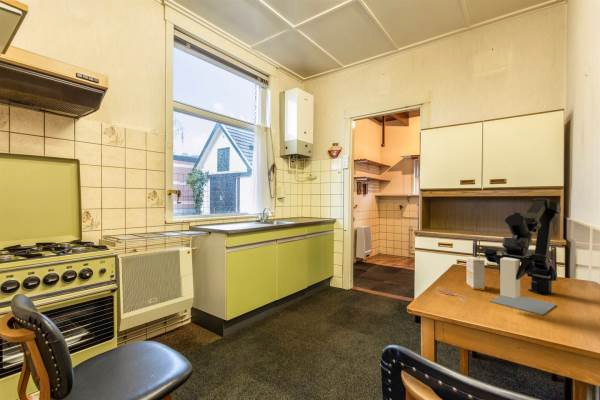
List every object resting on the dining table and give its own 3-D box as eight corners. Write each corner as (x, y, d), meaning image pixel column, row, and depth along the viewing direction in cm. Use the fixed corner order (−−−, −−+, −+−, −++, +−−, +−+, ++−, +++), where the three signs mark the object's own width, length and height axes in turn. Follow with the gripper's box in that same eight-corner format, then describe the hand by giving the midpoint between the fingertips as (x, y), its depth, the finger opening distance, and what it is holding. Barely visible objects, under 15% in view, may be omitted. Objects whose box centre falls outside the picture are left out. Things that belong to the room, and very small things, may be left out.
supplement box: (485, 290, 124) (485, 260, 124) (473, 289, 125) (473, 259, 125) (477, 284, 132) (477, 256, 132) (466, 284, 133) (466, 256, 133)
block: (505, 292, 104) (505, 257, 104) (520, 295, 101) (519, 259, 101) (500, 294, 102) (500, 258, 102) (515, 298, 98) (515, 260, 98)
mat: (506, 293, 119) (506, 292, 119) (556, 305, 106) (556, 304, 106) (490, 301, 110) (490, 300, 110) (542, 315, 97) (542, 314, 97)
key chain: (432, 294, 120) (432, 292, 120) (441, 290, 124) (441, 289, 124) (464, 303, 110) (464, 300, 110) (473, 299, 114) (473, 296, 114)
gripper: (485, 227, 111) (472, 259, 105) (547, 231, 96) (536, 269, 90) (494, 245, 116) (482, 276, 109) (554, 252, 100) (544, 289, 94)
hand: (508, 277), depth 101 cm, fingers closed on block, 4 cm apart
